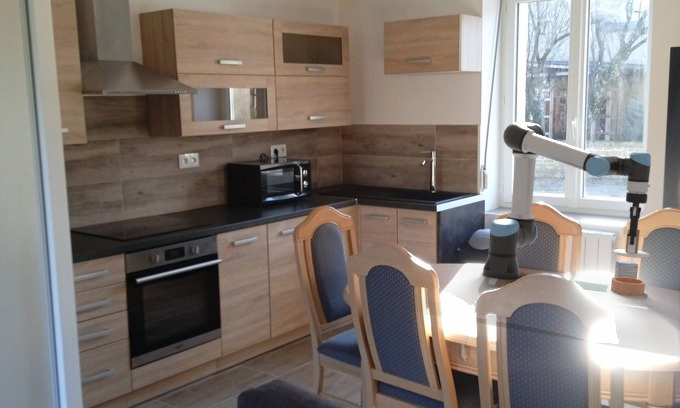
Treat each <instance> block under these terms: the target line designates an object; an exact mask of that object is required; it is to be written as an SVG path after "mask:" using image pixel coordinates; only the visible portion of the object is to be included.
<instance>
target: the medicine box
mask: <svg viewBox="0 0 680 408" xmlns="http://www.w3.org/2000/svg"><path fill="white" fill-rule="evenodd" d="M638 271H639V264H638V263H637V262H636V261H622V260H621V261H620V260H619V261H617V260H616V261H615V268H614V277H629V278H635V279H638Z"/></svg>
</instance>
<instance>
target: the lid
mask: <svg viewBox="0 0 680 408" xmlns="http://www.w3.org/2000/svg"><path fill="white" fill-rule="evenodd" d="M629 230H630V228H627V231H626V239H625V240H626V242H625V249H623V248H619V249H613V252H612V253H613V254H615V255H617V256H621V257H627V258H634V259H635V258H636V259H646V258H650V253H649V252H647V251H646V252H645V251H642V250H641V251H640V250H639V241H640V232H641V230H640V229H639V228H638V229H637V231H636V246H635V253H627V249H628V239H629V236H627V234H629Z"/></svg>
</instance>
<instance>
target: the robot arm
mask: <svg viewBox="0 0 680 408" xmlns="http://www.w3.org/2000/svg"><path fill="white" fill-rule="evenodd" d="M502 137H503V143H504V144H505V145H506V146H507V147H508V148H509V149H511V150H512V151H511V153H512V155H513V156H514V159H515V160H514V173H513V185H512V186H513V187H512V194H511V195H512V198H511V211H510V212H509V213H508V214H507V215H506V216H507V217H506V218H499V219H498V218H497V219H495V220H492V222H491V223H490V228H489V241H488V242H489V244H488V255H487V258H486V260H485V264H484V265H483V270H482V273H483V275H484V276H486V277H490V278H493V279H494V278H495V279H496V278H497V279H507V280H511V279H512V280H513V279H518V278H519V277H520V273H521V272H520V271H521V270H520V268H519V263H518V259H517V255H518V253H517V252H518V249H521V248H525V247H528V246H531V244H533V243H535V241H536V240H537V238H538V236H539V235H538V234H539V230H538V227H537V225H536V223H535V219H536V217H535V216H534V215H533V213H532V211H533V199H534V184H535V173H536V161H537V158H538V157H539V156H541V157H544V158H546V159H549V160H552V161H555V162H558V163H561V164H564V165H567V166H569V167H572V168H575V169H577V170H581V171H584V172H586V173H587V174H589V175H590V176H592V177H605V176H607V177H608V176H622V177H627V183H626V195H625V202H626V203H631V205H632V206H630V207H629V221H630V222H629V229H630V230H629V234H627V233H626V237H627V236H629V239H628V249H627V253H635V246H636V231H637V229H638V230H639V228H638V227H639V219H640V218H641V212H642V207H640V204H647V202H648V191H649V188H650V187H651V185H650V184H649V182H650V173H651V165H652V163H651V162H652V161H651V160H652V155H651V153H649V152H636V151H632V152H630V154H629V156H620V155H619V156H618V155H609V154H605V155H603V154H602V155H600V154H597V153H593V152H590V151H588V150H585V149H582V148H579V147H576V146H572V145H569V144H568V143H567V144H566V143H564V142H560V141H558V140H554V139H552V138H548V137H547V135H546V132H545V130H544V128H543V127H542V126H541V125H539V124H538V123H534V122H525V121H524V122H523V121H522V122H521V121H520V122H519V121H516V122H512V123H510V124H508V125H507V127H506V128H505V129H504V132H503V136H502Z"/></svg>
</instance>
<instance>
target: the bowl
mask: <svg viewBox="0 0 680 408" xmlns="http://www.w3.org/2000/svg"><path fill="white" fill-rule="evenodd" d="M610 285H611V286H610V291H612V292H614V293H616V294H620V295H625V296H644V295H645V289H646V288H645V287H646V281H644V280H642V279H639V278H637V279H635V278H629V277H615V276H614V277H612V278H611V284H610Z"/></svg>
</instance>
